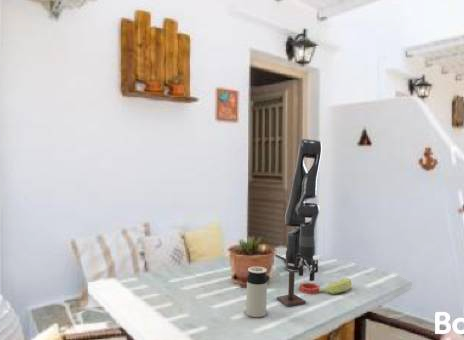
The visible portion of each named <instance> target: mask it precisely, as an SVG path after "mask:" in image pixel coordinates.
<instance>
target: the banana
mask: <svg viewBox="0 0 464 340" xmlns="http://www.w3.org/2000/svg"><path fill="white" fill-rule="evenodd" d="M352 287H353V283H352V279H351V278H350V277H346V276H345V277H343V278H341V279H340V280H338V281H334V282H331V283H330V284H328V285H327V286H326V287H325V288H319V293H323V292H327V293H329V294H332V295H337V294H341V293H343V292H346V291H349V289H351V288H352Z"/></svg>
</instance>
